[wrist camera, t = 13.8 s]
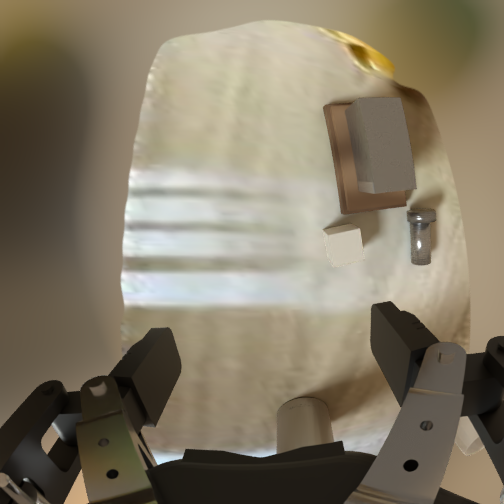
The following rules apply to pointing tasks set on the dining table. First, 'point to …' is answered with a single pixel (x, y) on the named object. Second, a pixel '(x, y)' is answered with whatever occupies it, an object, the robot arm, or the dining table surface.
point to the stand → (352, 168)
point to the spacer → (343, 245)
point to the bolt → (421, 234)
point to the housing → (380, 145)
